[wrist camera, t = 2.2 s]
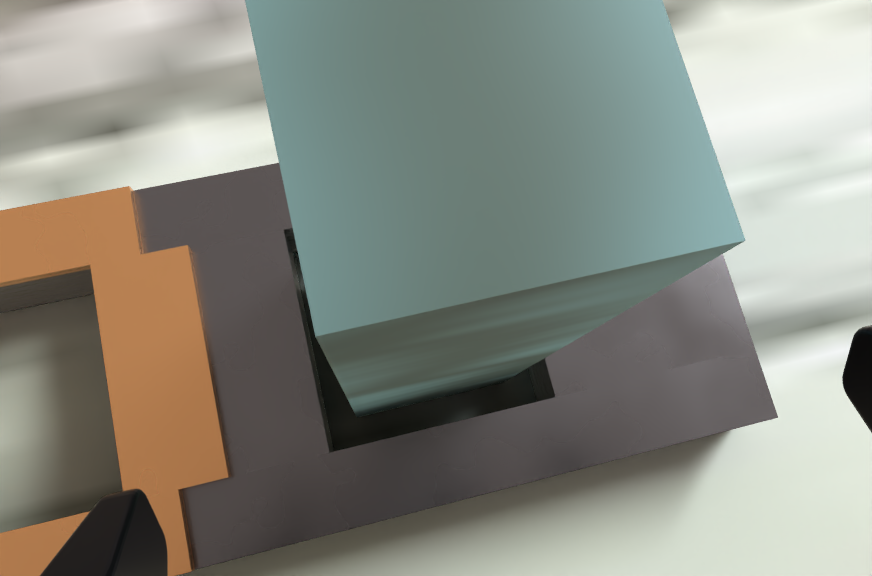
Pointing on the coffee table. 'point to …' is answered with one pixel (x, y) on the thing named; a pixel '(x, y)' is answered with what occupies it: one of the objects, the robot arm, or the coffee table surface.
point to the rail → (299, 382)
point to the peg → (482, 179)
